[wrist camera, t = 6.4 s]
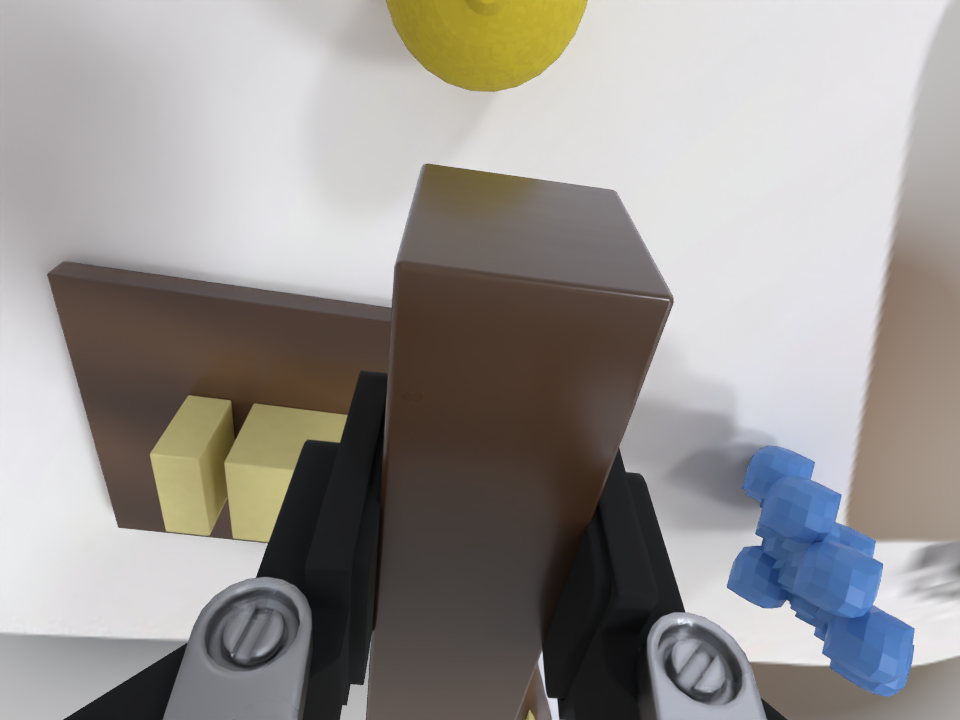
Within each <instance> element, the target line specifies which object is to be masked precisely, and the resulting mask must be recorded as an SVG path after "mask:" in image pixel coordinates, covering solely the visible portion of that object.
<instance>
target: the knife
mask: <svg viewBox="0 0 960 720" xmlns="http://www.w3.org/2000/svg"><path fill="white" fill-rule="evenodd" d="M673 302H674V301H673V295H672V294H671V292H670V290H669V288H668V286H667V284H666V283H665V281H664V279H663V277H662V275H661V273H660V271H659V270H658V268H657V266H656V264H655V262H654V260H653V259H652V257H651V255H650V253H649V251H648V249H647V247H646V246H645V244H644V242H643V240H642V238H641V236H640V235H639V233H638V231H637V229H636V227H635V225H634V223H633V222H632V220H631V218H630V216H629V214H628V212H627V210H626V209H625V207H624V205H623V203H622V201H621V199H620V198H619V196H618V194H617V192H615V191H614V190H610V189H603V188H596V187H588V186H581V185H574V184H567V183H560V182H553V181H546V180H539V179H532V178H525V177H518V176H511V175H504V174H497V173H490V172H483V171H476V170H468V169H461V168H454V167H447V166H440V165H433V164H425V165H423V166H422V168H421V171H420V174H419V178H418V182H417V185H416V189H415V193H414V196H413V200H412V204H411V208H410V211H409V215H408V219H407V222H406V226H405V230H404V233H403V237H402V241H401V244H400V248H399V252H398V255H397V259H396V263H395V266H394V282H393V298H392V314H391V330H390V346H389V362H388V378H387V394H386V410H385V425H384V441H383V457H382V473H381V489H380V519H379V535H378V550H377V566H376V581H375V597H374V612H373V628H372V636H371V649H370V664H369V680H368V697H367V712H366V720H516V719H517V716H518V713H519V711H520V708H521V706H522V703H523V700H524V698H525V695H526V692H527V690H528V687H529V684H530V682H531V679H532V676H533V674H534V671H535V668H536V666H537V663H538V660H539V658H540V655H541V653H542V644H543V642H544V639H545V636H546V634H547V631H548V628H549V626H550V623H551V620H552V618H553V615H554V612H555V610H556V607H557V604H558V602H559V599H560V596H561V594H562V591H563V588H564V586H565V583H566V580H567V578H568V575H569V572H570V570H571V567H572V564H573V562H574V559H575V556H576V554H577V551H578V548H579V545H580V543H581V540H582V537H583V535H584V532H585V529H586V527H589V525H590V523H591V520H592V517H593V515H594V512H595V510H596V507H597V504H598V502H599V499H600V496H601V494H602V491H603V488H604V486H605V483H606V480H607V478H608V475H609V472H610V470H611V467H612V464H613V462H614V459H615V457H616V454H617V451H618V449H619V446H620V443H621V441H622V438H623V435H624V433H625V430H626V427H627V425H628V422H629V419H630V417H631V414H632V412H633V409H634V406H635V404H636V401H637V398H638V396H639V393H640V390H641V388H642V385H643V382H644V380H645V377H646V374H647V372H648V369H649V367H650V364H651V361H652V359H653V356H654V353H655V351H656V348H657V345H658V343H659V340H660V337H661V335H662V332H663V329H664V327H665V324H666V321H667V319H668V316H669V314H670V311H671V308H672V306H673Z"/></svg>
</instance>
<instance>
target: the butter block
mask: <svg viewBox="0 0 960 720" xmlns="http://www.w3.org/2000/svg"><path fill="white" fill-rule="evenodd" d="M347 416H348V415H344V414H336V413H328V412H320V411H312V410H304V409H296V408H289V407H281V406H273V405H265V404H257V403H255V404H253V406H252V408H251V410H250V412H249V414H248V416H247V418H246V420H245V422H244V424H243V426H242V428H241V430H240V432H239V434H238V436H237V438H236V440H235V442H234V444H233V446H232V448H231V450H230V452H229V454H228V456H227V458H226V460H225V462H224V466H225V475H226V484H227V492H228V501H229V510H230V518H231V527H232V536H233V538H234V539H243V540H252V541H262V542H269V540H270V537H271V534H272V531H273V528H274V526H275V523H276V520H277V517H278V514H279V512H280V509H281V506H282V503H283V500H284V497H285V495H286V492H287V489H288V486H289V483H290V481H291V478H292V475H293V472H294V469H295V466H296V464H297V461H298V458H299V455H300V452H301V450H302V447H303V445H304V443H305V441H306V440H307V439H309V440H319V441H328V442H338V443H340V441H341V437H342V434H343V430H344V426H345V423H346V419H347Z"/></svg>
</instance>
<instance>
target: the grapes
mask: <svg viewBox="0 0 960 720" xmlns="http://www.w3.org/2000/svg"><path fill="white" fill-rule="evenodd" d="M814 464H815V462H814V461H812V460H810V459H808V458H806V457H804V456H802V455H800V454H798V453H795V452H793V451H791V450H789V449H785V448H781V447H777V446H766V447H764V448H761V449H759V450H758V451H757V452H756V453H755V454H754V456H753V457H752V459H751V461H750V463H749V465H748V468H747V472H746V475H745V479H744V483H743V487H742V488H743V489H744V490H746V495H748V496H750V497H752V498H753V499H755V500H757V501H759V502H761V504H760V506H761V508H762V512H761V516H760V520H759V522H758V526H757V529H756V533H755V534H756V535H758V536H760V537H762V538H763V541H762V545H761V546H751V547H744V548H743V549H742V551H741V552H740V553H739V554H738V556H737V558H736V559H735V561H734V562H733V566H732V569H731V572H730V576H729V580H728V584H727V588H729V589H730V590H731V591H733V592H734V593H736V594H737V595H739V596H741V597H742V598H744V599H746V600H747V601H749V602H751V603H753V604H755V605H758V606H760V607H762V608H778V607H781V606H782V605H783V604H784V602H785V601H786V600H788V601H790V604H791V609H793V610H794V611H796V612H797V613H796V615H795V616H796V617H797V618H799V619H801V620H803V621H805V622H806V623H808V624H810V625H812V626H815V627H816V628H815V633H814V635H815V636H816V637H818V638H819V639H821V640H822V641H824V647H823V652H822V654H824V655H825V656H827V657H828V658H830V659H831V662H830V668H831V669H833V670H834V671H835V672H837V673H839V674H840V675H841V676H843V677H844V678H846V679H847V680H849V681H851V682H852V683H854V684H856V685H857V686H859V687H861V688H863V689H865V690H867V691H869V692H871V693H873V694H877V695H882V696H891V695H894V694H896V693H898V692H899V691H900V690H901V689H903V688H904V686H905V684H906V680H907V678H908V675H909V671H910V668H911V664H912V659H913V651H914V645H912V644H913V637H914V628H912V627H911V626H909V625H907V624H906V623H904V622H902V621H901V620H899V619H897V618H896V617H894V616H891V615H889V614H887V613H885V612H884V611H882V610H880V609H879V608H877V607H875V606H874V605H873V602H874V600H875V598H876V596H877V592H878V588H879V585H880V581H881V575H882V569H883V563H881V562H879V561H877V560H875V559H874V558H873V554H874V549H875V543H876V541H875V540H873V539H872V538H870V537H868V536H866V535H864V534H862V533H860V532H858V531H856V530H854V529H852V528H850V527H847V526H845V525H842V524H839V523H836V522H835V521H836V517H837V513H838V509H839V504H840V499H841V494H839V493H837V492H835V491H833V490H831V489H829V488H827V487H825V486H823V485H821V484H819V483H816V482H814V481H812V480H811V476H812V472H813V468H814Z"/></svg>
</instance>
